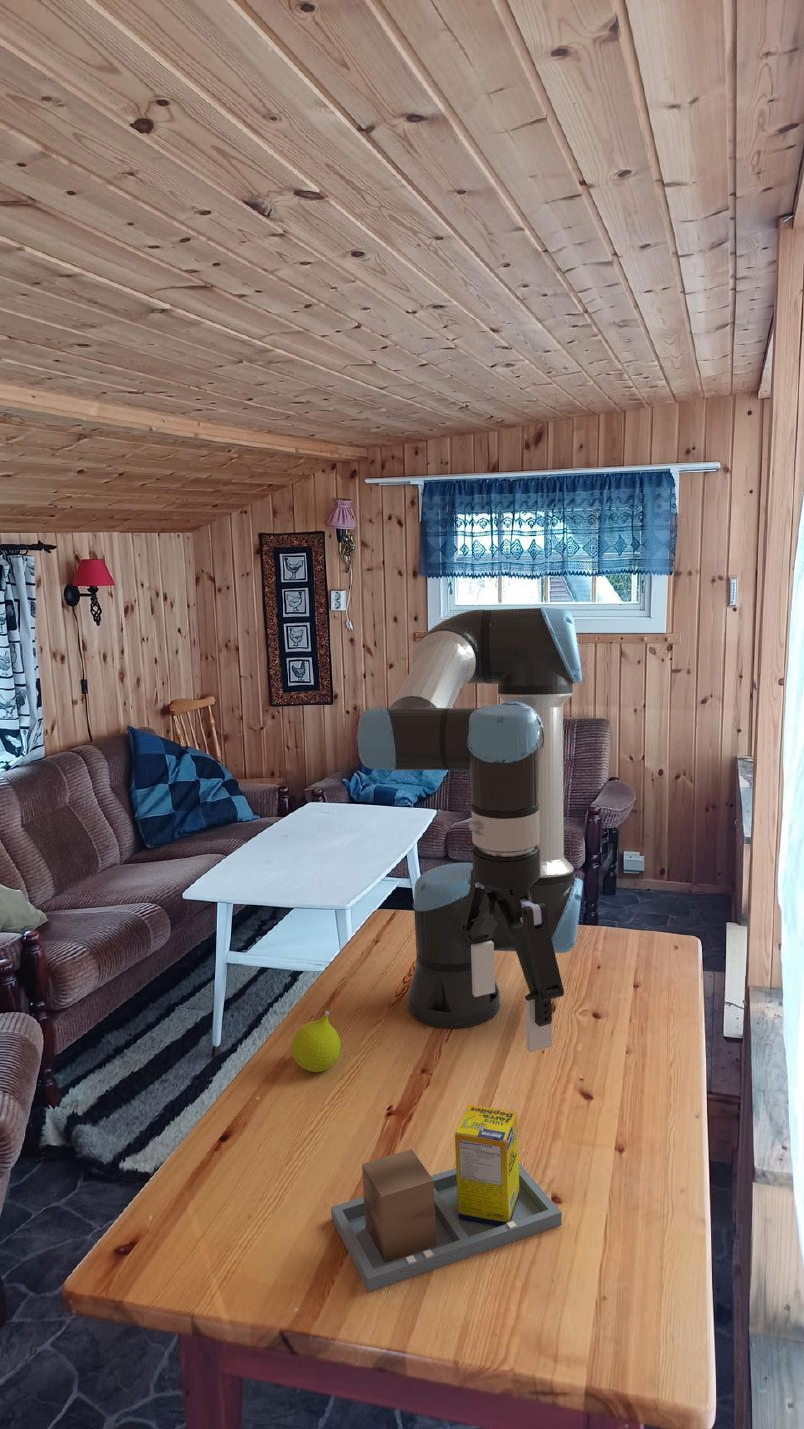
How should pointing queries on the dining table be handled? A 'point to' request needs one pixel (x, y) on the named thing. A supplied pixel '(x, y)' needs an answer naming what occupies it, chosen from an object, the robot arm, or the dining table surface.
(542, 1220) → the slot tray
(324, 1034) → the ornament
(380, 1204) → the walnut block
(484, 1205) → the supplement box
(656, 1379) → the dining table surface
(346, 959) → the dining table surface
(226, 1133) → the dining table surface
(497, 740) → the robot arm
